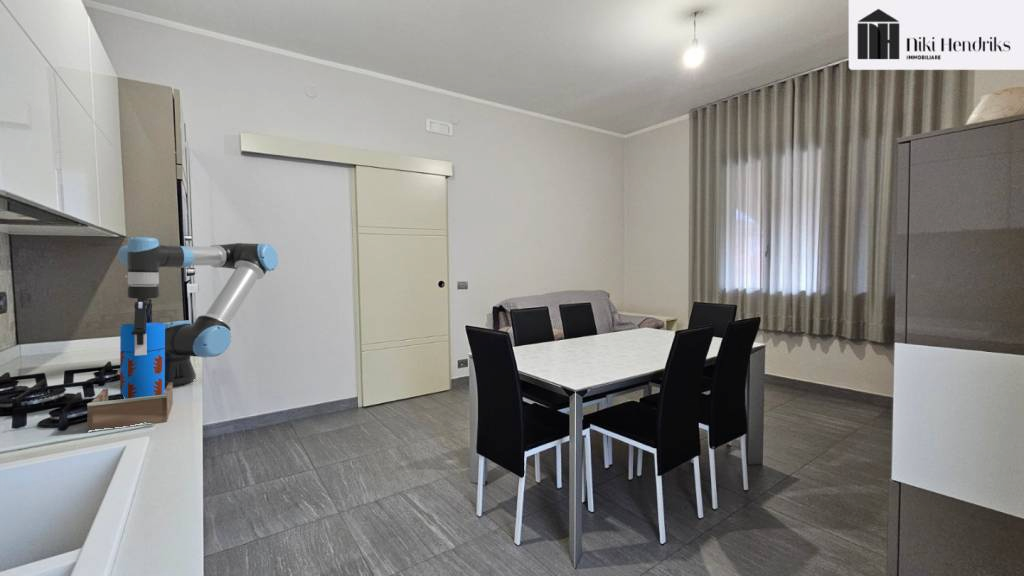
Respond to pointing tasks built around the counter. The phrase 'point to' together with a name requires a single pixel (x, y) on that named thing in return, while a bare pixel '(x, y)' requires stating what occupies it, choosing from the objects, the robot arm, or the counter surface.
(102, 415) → the wooden frame
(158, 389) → the thermos
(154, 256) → the robot arm
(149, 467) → the counter surface
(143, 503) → the counter surface
